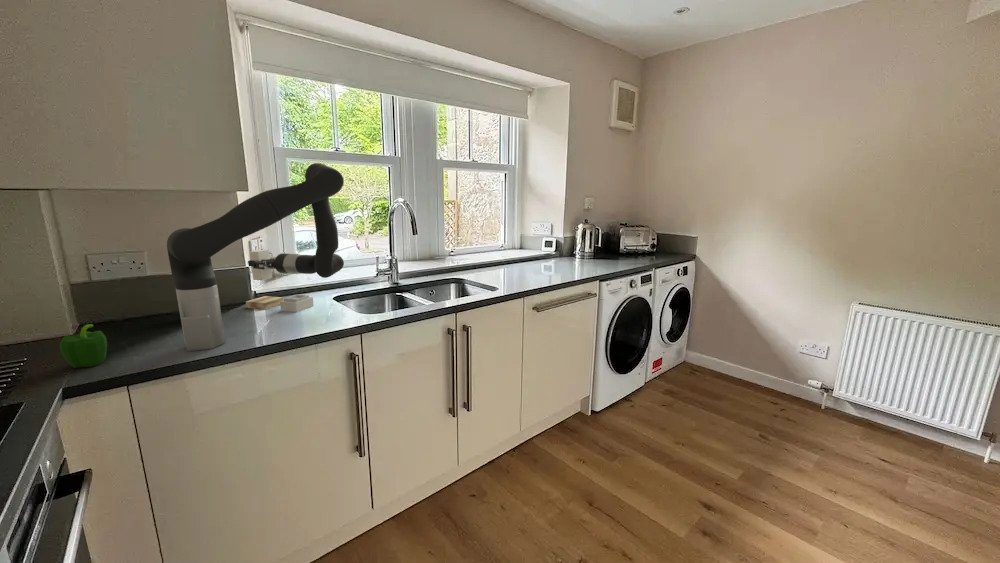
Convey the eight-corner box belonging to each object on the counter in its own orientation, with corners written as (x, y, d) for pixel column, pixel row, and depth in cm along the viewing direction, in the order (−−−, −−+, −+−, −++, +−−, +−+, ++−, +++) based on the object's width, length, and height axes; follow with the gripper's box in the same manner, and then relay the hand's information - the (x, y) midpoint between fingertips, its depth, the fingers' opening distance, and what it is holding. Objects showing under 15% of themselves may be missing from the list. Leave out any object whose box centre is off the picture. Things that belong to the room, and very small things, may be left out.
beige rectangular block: (296, 312, 146) (295, 300, 145) (281, 310, 148) (279, 299, 147) (313, 305, 154) (312, 294, 153) (298, 304, 156) (297, 293, 155)
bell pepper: (79, 373, 94) (70, 333, 92) (57, 369, 97) (47, 330, 95) (121, 359, 102) (113, 323, 100) (99, 356, 105) (91, 320, 103)
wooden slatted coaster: (283, 303, 158) (283, 297, 157) (265, 309, 149) (264, 303, 149) (265, 301, 160) (264, 296, 159) (246, 307, 151) (245, 301, 151)
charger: (261, 280, 150) (257, 251, 147) (253, 279, 151) (249, 251, 148) (272, 277, 154) (268, 250, 152) (264, 277, 155) (260, 249, 153)
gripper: (304, 251, 154) (268, 250, 158) (275, 256, 140) (237, 255, 144) (306, 270, 155) (271, 268, 159) (278, 277, 142) (240, 275, 146)
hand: (255, 262), depth 152 cm, fingers closed on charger, 5 cm apart
